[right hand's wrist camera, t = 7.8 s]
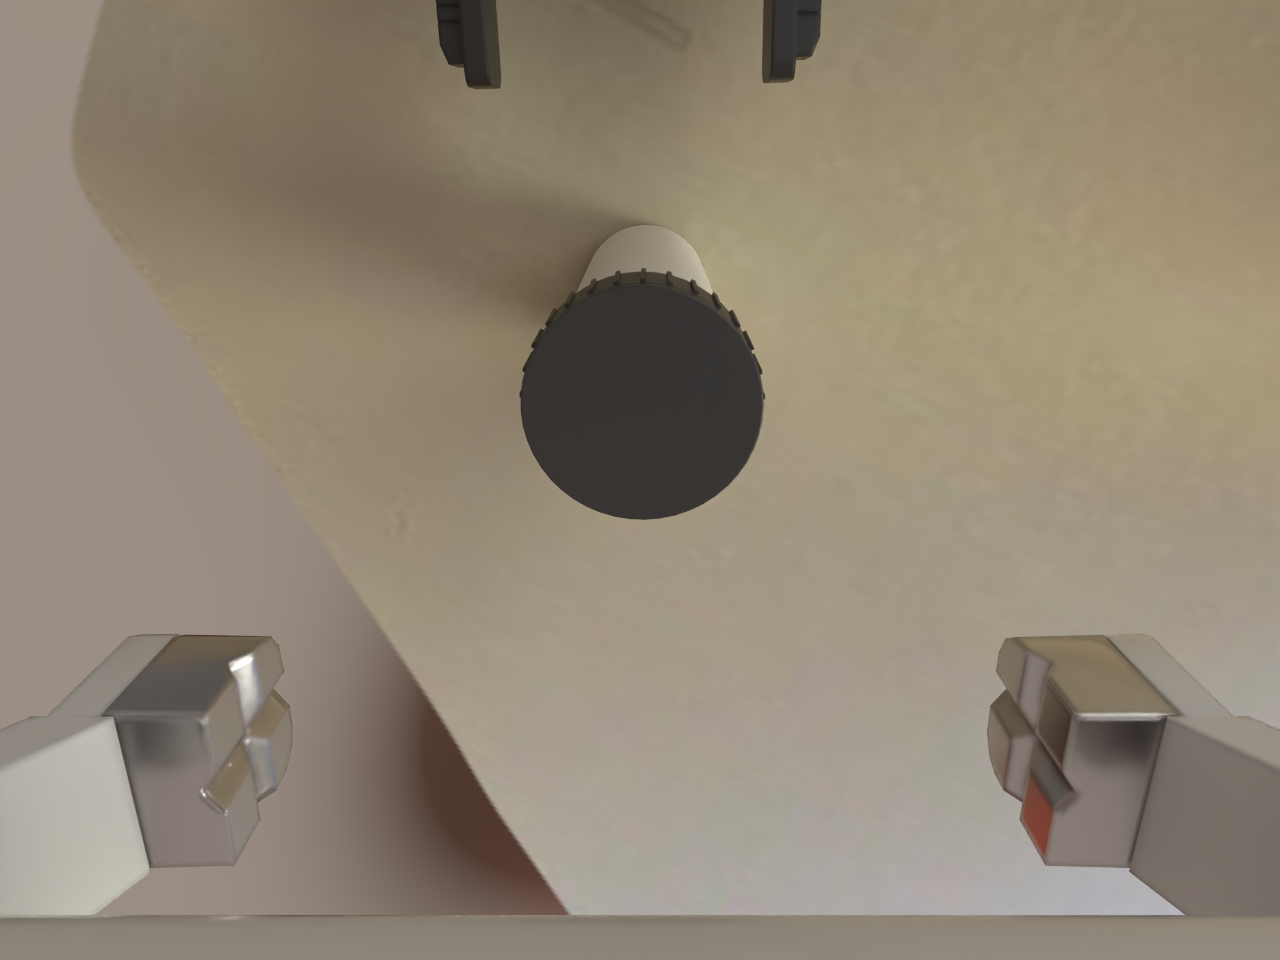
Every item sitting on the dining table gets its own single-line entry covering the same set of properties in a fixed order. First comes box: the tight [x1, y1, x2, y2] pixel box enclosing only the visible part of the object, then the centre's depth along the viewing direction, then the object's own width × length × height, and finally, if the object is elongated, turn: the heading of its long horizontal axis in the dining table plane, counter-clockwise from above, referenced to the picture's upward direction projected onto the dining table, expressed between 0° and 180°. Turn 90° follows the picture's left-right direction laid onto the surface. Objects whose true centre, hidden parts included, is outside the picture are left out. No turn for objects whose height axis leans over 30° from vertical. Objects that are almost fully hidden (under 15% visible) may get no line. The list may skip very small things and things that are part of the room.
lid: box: [520, 268, 765, 520], centre depth 21 cm, size 5×5×2 cm
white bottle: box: [577, 225, 713, 295], centre depth 28 cm, size 5×5×16 cm
